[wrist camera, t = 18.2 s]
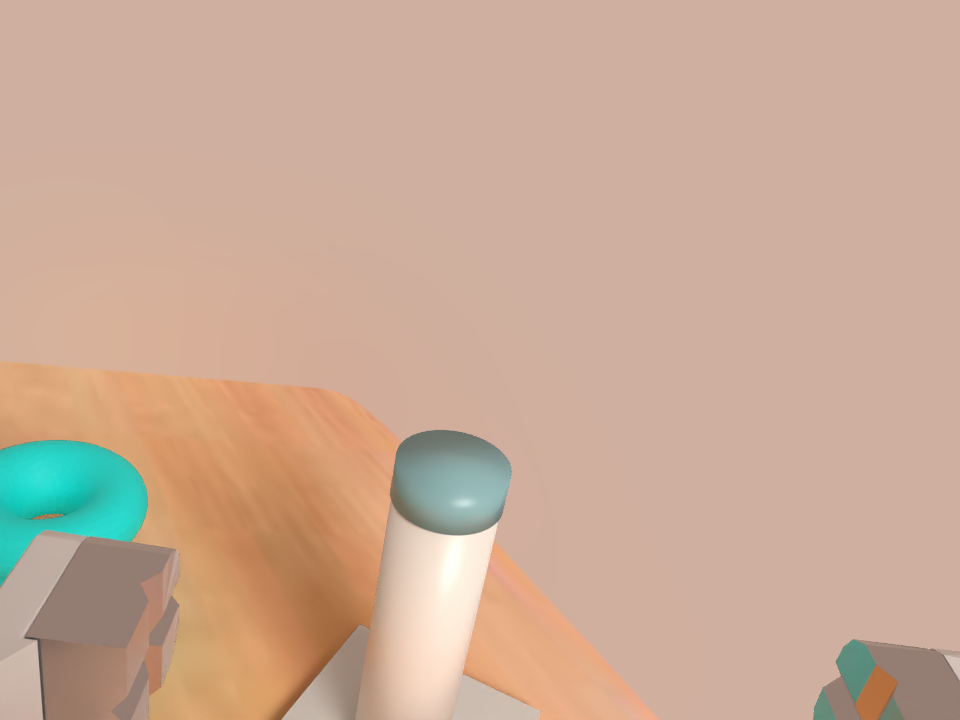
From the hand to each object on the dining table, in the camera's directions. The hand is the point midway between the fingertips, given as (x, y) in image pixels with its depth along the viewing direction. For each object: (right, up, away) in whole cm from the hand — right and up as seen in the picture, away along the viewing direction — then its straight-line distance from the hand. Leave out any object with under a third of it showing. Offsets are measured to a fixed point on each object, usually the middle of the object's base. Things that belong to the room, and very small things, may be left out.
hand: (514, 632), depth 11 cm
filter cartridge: (-5, -17, +37) cm, 41 cm away
